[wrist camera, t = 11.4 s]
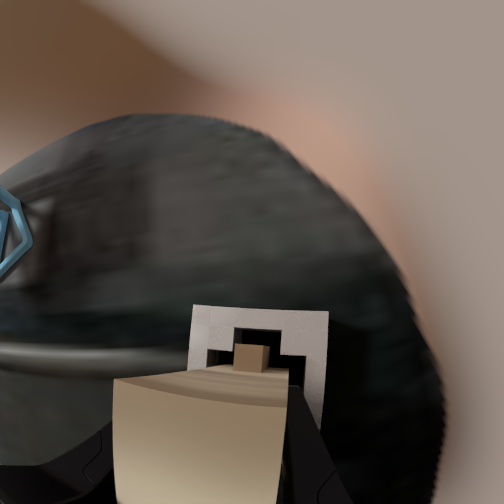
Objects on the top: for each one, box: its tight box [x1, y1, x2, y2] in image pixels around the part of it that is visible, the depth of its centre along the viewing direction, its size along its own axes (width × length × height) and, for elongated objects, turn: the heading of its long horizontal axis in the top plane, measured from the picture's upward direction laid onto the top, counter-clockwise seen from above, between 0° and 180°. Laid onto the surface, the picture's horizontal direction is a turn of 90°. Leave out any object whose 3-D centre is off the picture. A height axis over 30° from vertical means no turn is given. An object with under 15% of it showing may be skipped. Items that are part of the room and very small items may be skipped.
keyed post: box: [113, 343, 289, 504], centre depth 9 cm, size 5×4×11 cm
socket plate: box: [187, 305, 328, 463], centre depth 14 cm, size 8×7×2 cm
